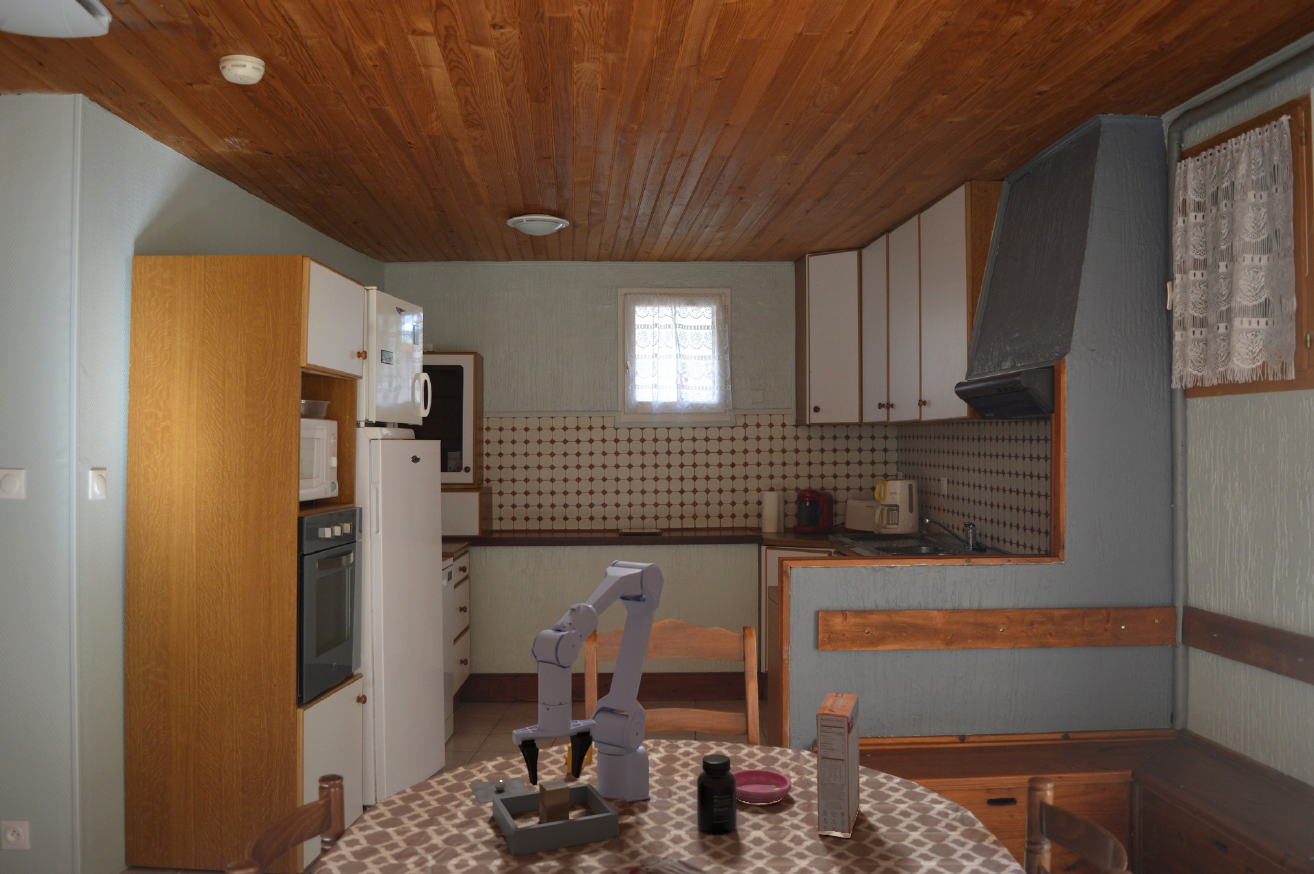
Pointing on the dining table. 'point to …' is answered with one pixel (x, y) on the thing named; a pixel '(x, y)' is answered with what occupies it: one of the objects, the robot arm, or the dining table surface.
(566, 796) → the small brown box
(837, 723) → the cracker box
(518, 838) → the bin
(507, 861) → the dining table surface
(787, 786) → the saucer
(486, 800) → the stud plate
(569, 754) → the yellow u-shaped block
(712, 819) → the supplement bottle
